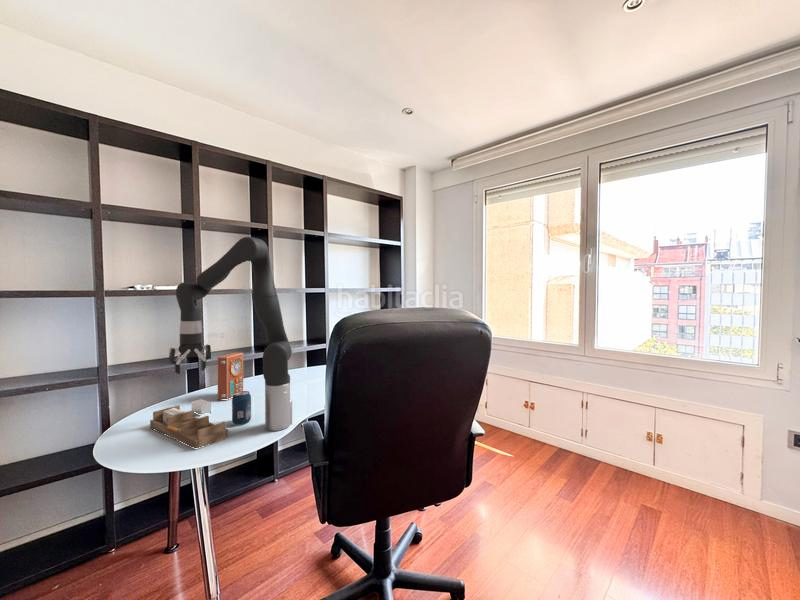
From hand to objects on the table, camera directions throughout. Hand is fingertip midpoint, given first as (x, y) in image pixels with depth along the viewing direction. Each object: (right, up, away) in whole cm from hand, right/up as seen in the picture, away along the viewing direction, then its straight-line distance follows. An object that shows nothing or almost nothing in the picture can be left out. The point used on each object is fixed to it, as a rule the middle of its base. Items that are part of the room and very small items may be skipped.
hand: (190, 371), depth 130 cm
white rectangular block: (-3, -21, +11) cm, 24 cm away
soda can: (+20, -21, +1) cm, 29 cm away
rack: (+5, -21, -9) cm, 23 cm away
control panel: (-2, -20, +34) cm, 40 cm away
